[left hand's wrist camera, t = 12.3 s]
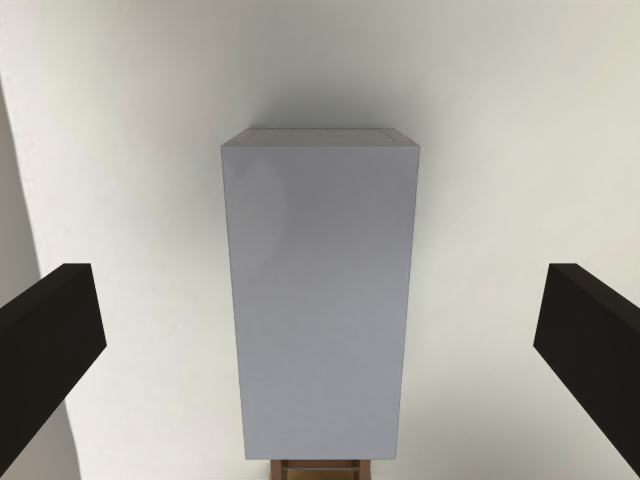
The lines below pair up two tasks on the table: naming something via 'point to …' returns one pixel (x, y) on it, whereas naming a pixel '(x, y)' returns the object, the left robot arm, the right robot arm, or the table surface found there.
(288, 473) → the drawer
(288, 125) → the table surface
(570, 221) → the table surface
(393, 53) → the table surface
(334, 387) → the cabinet
